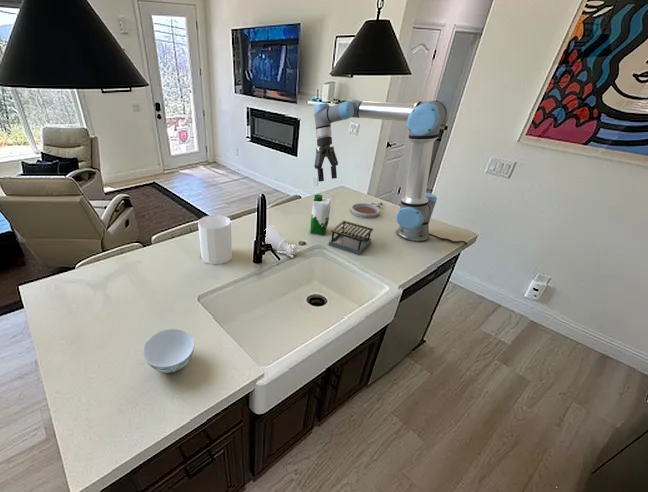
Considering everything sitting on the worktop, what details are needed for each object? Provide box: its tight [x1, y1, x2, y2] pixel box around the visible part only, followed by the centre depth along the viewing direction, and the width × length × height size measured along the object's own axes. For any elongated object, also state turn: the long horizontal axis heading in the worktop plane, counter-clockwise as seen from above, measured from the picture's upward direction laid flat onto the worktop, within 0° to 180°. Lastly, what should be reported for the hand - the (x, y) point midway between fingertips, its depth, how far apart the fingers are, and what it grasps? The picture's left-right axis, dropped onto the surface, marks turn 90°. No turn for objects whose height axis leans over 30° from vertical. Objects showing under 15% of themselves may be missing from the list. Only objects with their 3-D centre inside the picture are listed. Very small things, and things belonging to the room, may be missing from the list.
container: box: [197, 214, 233, 265], centre depth 151 cm, size 14×14×18 cm
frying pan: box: [350, 201, 383, 219], centre depth 201 cm, size 17×3×28 cm
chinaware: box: [142, 328, 195, 374], centre depth 100 cm, size 15×15×8 cm
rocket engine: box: [265, 224, 301, 259], centre depth 158 cm, size 12×12×18 cm
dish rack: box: [328, 220, 374, 255], centre depth 164 cm, size 16×15×8 cm
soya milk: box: [310, 194, 332, 236], centre depth 172 cm, size 9×9×20 cm
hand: (328, 179), depth 173 cm, fingers open, 13 cm apart
